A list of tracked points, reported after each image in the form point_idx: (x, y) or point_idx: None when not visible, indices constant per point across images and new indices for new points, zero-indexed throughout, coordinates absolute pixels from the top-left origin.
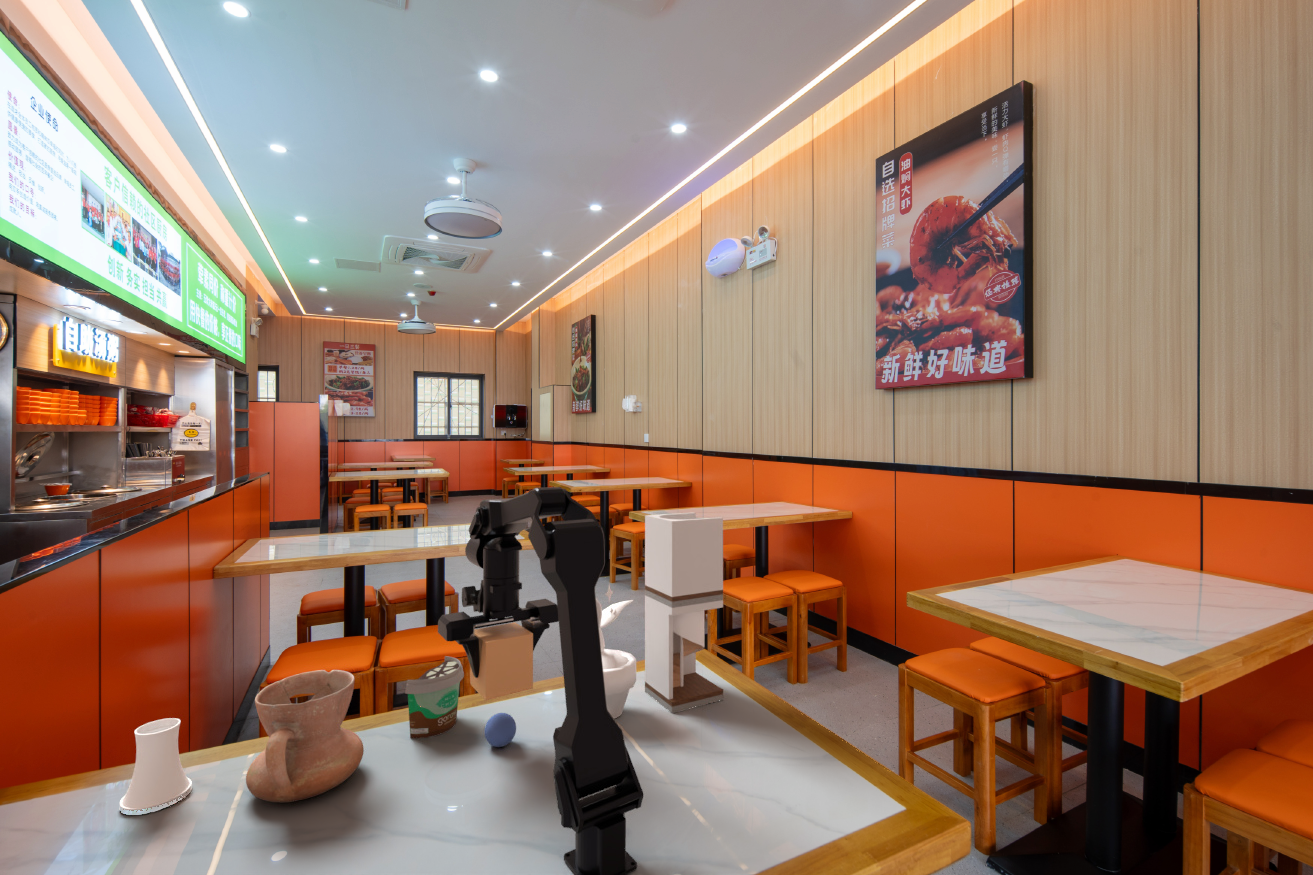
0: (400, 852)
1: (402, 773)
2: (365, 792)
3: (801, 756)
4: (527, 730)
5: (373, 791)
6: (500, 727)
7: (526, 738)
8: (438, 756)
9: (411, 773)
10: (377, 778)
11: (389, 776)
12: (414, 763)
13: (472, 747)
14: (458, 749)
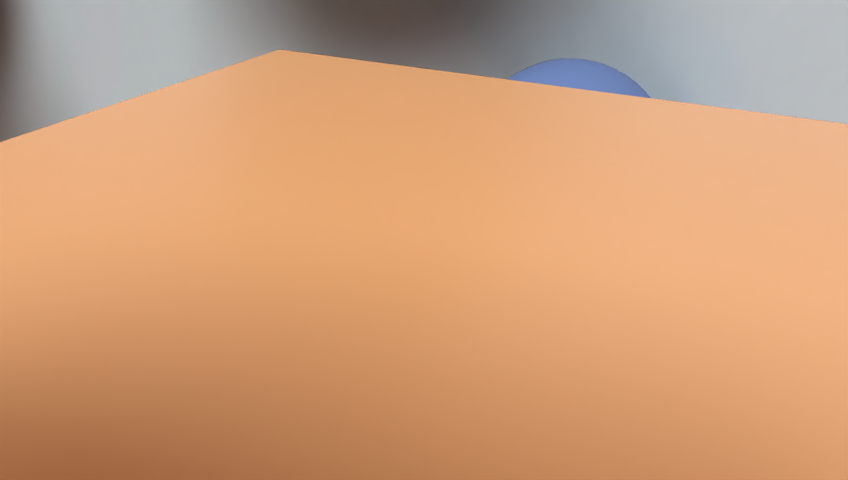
0: None
1: (128, 59)
2: (14, 101)
3: None
4: (817, 83)
5: (37, 115)
6: None
7: None
8: (278, 19)
9: (158, 87)
10: (43, 27)
11: (83, 46)
12: (176, 7)
13: (445, 50)
14: (378, 18)
